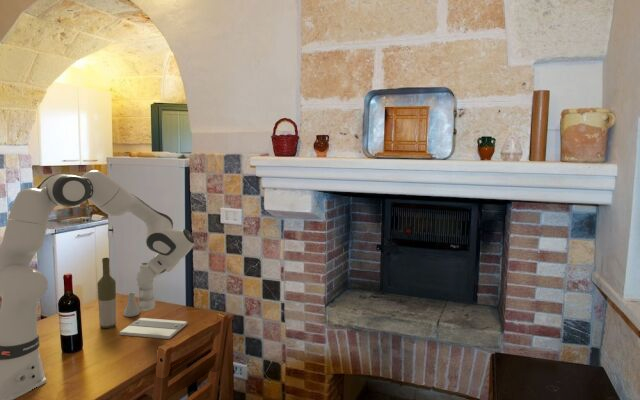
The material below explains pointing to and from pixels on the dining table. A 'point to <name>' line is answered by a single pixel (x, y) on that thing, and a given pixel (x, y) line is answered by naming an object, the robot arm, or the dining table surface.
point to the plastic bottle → (146, 293)
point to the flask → (131, 306)
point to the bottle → (107, 297)
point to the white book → (153, 328)
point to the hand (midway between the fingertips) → (144, 282)
